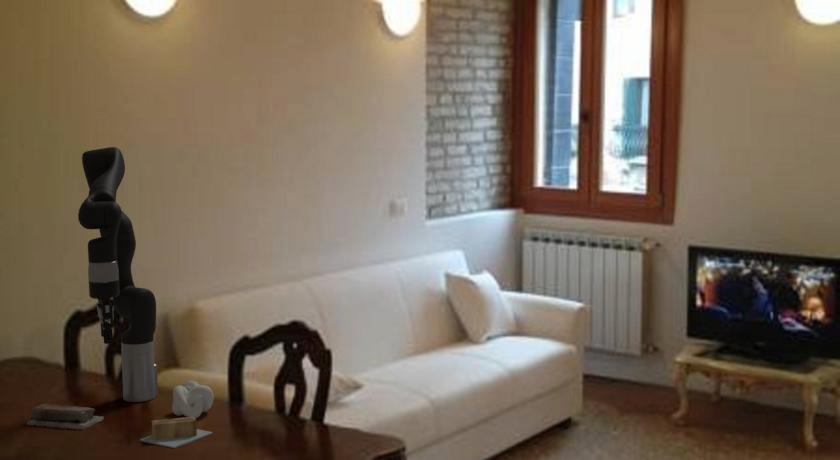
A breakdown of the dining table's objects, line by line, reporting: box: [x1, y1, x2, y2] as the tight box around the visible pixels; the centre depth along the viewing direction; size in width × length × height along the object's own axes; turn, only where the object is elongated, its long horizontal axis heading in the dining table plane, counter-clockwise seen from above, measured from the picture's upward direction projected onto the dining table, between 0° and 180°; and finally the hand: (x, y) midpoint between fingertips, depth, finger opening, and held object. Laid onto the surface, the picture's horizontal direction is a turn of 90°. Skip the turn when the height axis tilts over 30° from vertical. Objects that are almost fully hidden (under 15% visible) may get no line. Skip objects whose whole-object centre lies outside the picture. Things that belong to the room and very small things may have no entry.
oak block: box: [151, 416, 198, 440], centre depth 263 cm, size 4×4×11 cm
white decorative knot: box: [171, 380, 215, 419], centre depth 284 cm, size 11×12×9 cm
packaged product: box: [26, 403, 105, 430], centre depth 277 cm, size 18×5×10 cm
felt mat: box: [139, 428, 214, 449], centre depth 263 cm, size 14×12×1 cm
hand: (107, 339), depth 264 cm, fingers open, 8 cm apart
